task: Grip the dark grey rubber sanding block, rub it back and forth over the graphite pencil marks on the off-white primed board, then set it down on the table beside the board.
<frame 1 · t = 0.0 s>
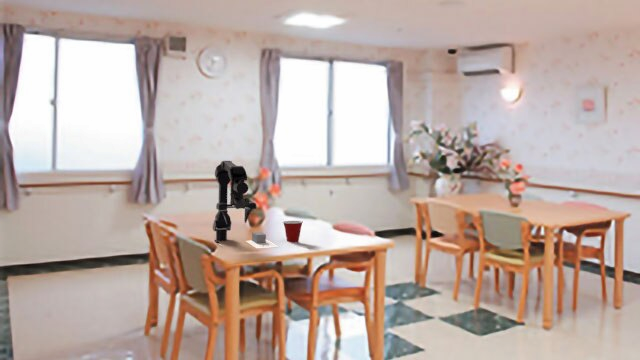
hand: (236, 223, 287), 15 cm above the table, fingers open, 9 cm apart
plastic cup: (292, 243, 315), on the table
primed board: (261, 245, 306), on the table
sanding block: (258, 241, 310), point 1 cm above the table, touching primed board
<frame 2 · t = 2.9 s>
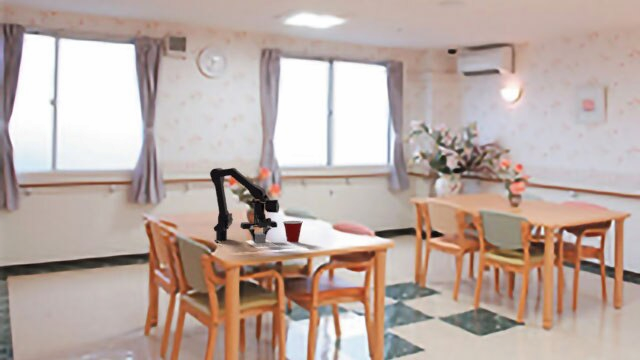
hand: (258, 241, 310), 2 cm above the table, fingers closed on sanding block, 5 cm apart
sanding block: (258, 241, 310), point 1 cm above the table, touching gripper, primed board
everything else where it was.
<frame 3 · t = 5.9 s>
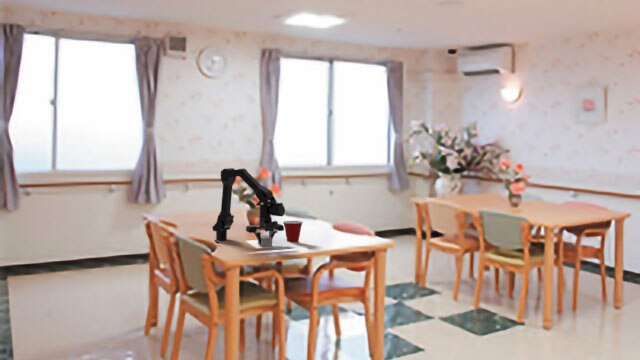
hand: (264, 244, 301), 2 cm above the table, fingers closed on sanding block, 5 cm apart
sanding block: (264, 245, 301), point 1 cm above the table, touching gripper, primed board
everything else where it was.
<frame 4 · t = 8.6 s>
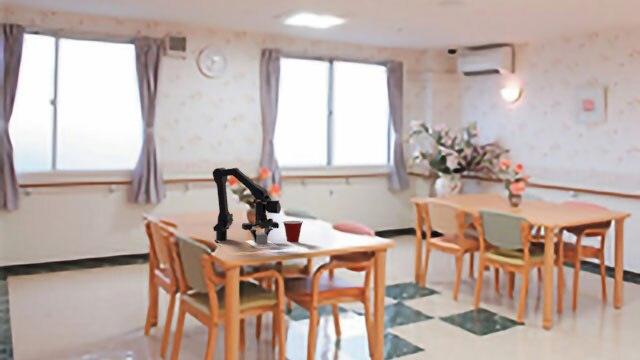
hand: (260, 241, 308), 2 cm above the table, fingers closed on sanding block, 5 cm apart
sanding block: (260, 242, 308), point 1 cm above the table, touching gripper
everything else where it was.
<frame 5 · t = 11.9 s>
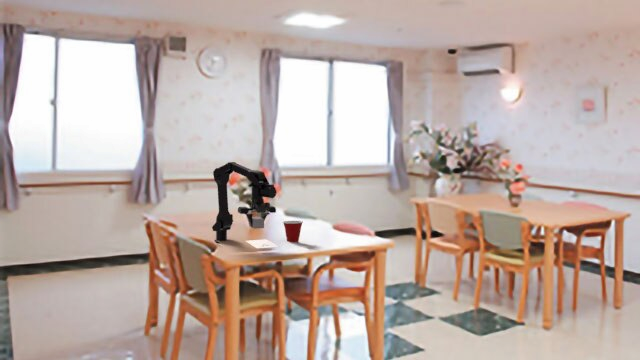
hand: (256, 226, 299), 11 cm above the table, fingers closed on sanding block, 5 cm apart
sanding block: (256, 226, 299), point 11 cm above the table, touching gripper
everything else where it was.
when the fingers open (2 cm above the table, at t = 14.6 s): sanding block drops 2 cm, on the table.
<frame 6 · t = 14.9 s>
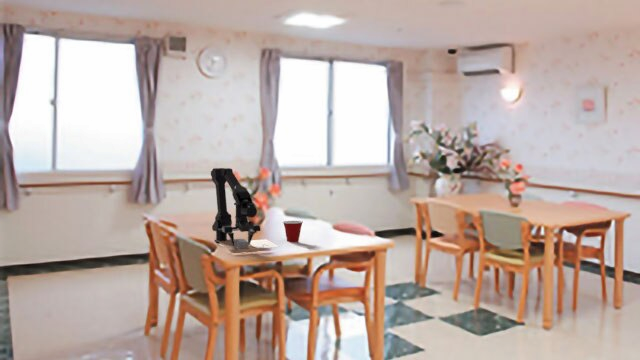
hand: (241, 245, 298), 2 cm above the table, fingers open, 8 cm apart
sanding block: (241, 249, 298), on the table
everything else where it was.
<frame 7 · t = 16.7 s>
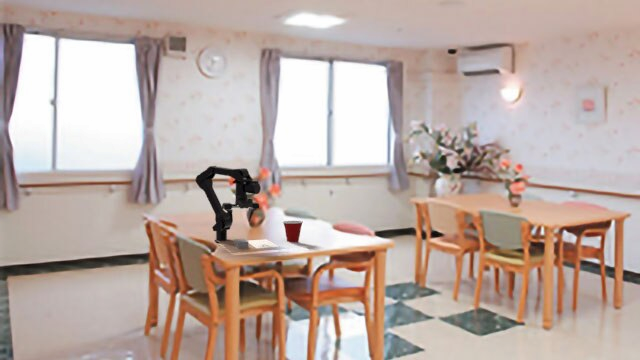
hand: (240, 222, 307), 12 cm above the table, fingers open, 9 cm apart
nothing on the table moved.
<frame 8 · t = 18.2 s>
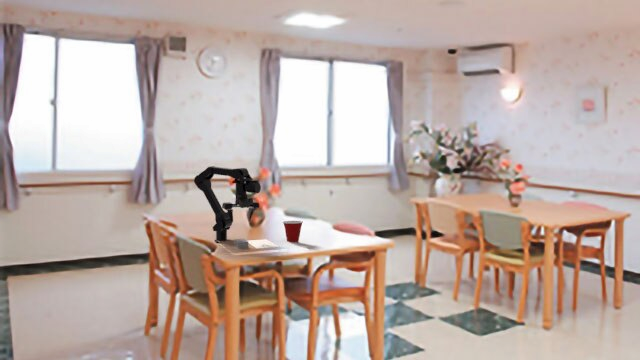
hand: (240, 221, 308), 12 cm above the table, fingers open, 9 cm apart
nothing on the table moved.
at the end: sanding block inside the target area (0.2 cm from its centre), on the table; sanding block tilted 0°; the gripper is holding nothing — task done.
